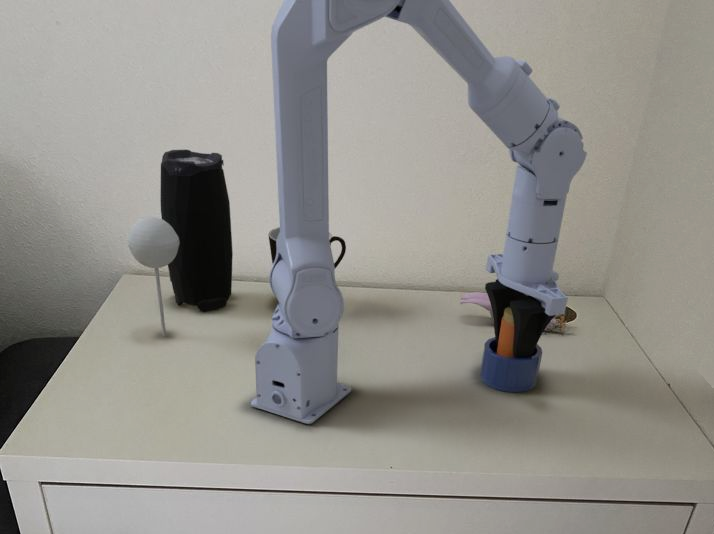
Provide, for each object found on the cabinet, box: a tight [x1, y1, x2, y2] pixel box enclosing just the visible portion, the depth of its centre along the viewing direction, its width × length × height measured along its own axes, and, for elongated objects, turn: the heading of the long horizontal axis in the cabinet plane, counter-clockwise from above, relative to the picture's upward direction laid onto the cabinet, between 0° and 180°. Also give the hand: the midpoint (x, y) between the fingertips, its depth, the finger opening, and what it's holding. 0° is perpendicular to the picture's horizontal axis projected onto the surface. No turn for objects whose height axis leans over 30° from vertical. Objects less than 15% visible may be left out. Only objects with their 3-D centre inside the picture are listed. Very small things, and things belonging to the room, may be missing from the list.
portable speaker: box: [159, 149, 234, 313], centre depth 104 cm, size 9×9×20 cm
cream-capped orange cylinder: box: [497, 307, 514, 358], centre depth 92 cm, size 4×4×6 cm
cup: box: [479, 336, 543, 393], centre depth 94 cm, size 7×7×4 cm
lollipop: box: [126, 216, 180, 337], centre depth 96 cm, size 6×6×15 cm
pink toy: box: [459, 291, 568, 334], centre depth 108 cm, size 6×6×15 cm
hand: (513, 349), depth 93 cm, fingers closed on cream-capped orange cylinder, 4 cm apart
